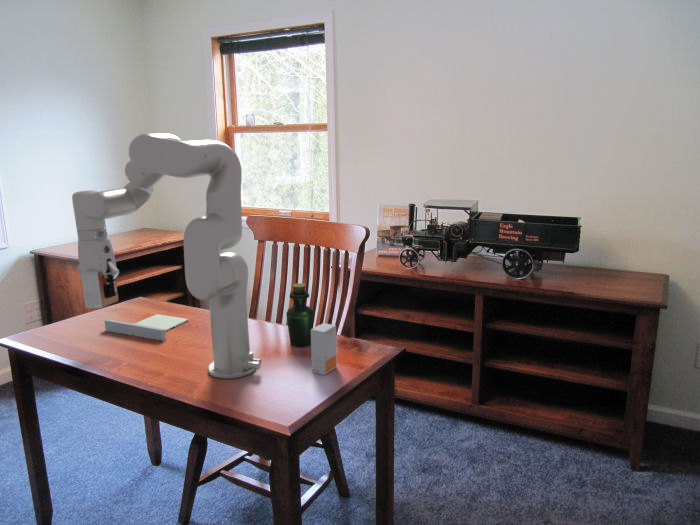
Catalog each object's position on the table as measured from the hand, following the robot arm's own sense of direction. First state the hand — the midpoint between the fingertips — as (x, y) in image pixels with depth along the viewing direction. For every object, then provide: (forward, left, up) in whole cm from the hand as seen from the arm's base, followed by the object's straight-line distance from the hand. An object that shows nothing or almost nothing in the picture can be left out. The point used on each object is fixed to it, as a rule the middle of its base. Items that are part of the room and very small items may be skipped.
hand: (101, 295), depth 160 cm
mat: (0, -21, -16) cm, 27 cm away
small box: (0, 0, -3) cm, 3 cm away
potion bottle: (-52, -25, -17) cm, 60 cm away
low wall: (0, -11, -16) cm, 20 cm away
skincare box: (-67, -11, -17) cm, 69 cm away
